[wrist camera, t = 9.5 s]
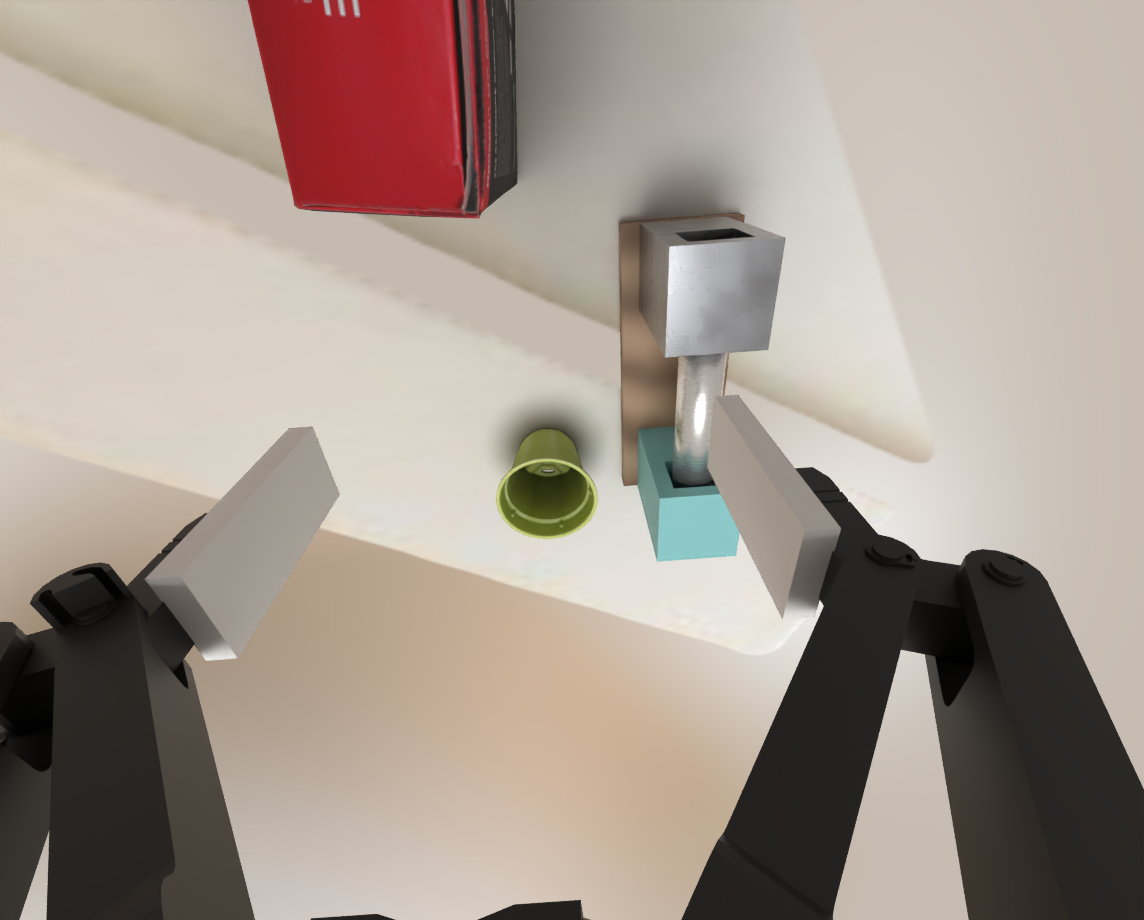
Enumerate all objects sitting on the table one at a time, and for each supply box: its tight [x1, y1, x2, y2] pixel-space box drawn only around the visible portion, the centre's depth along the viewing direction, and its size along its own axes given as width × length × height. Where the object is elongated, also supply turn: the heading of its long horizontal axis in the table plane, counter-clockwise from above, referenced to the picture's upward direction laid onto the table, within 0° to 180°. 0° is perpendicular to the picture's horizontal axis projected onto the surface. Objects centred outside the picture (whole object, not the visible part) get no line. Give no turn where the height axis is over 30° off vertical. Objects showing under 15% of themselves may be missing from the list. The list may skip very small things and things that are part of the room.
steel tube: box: [672, 353, 727, 489], centre depth 40 cm, size 17×4×4 cm, turn 4°
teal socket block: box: [638, 426, 739, 561], centre depth 46 cm, size 7×7×12 cm
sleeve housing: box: [639, 217, 785, 358], centre depth 36 cm, size 7×7×12 cm
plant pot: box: [496, 429, 598, 539], centre depth 49 cm, size 9×9×9 cm
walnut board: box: [619, 213, 745, 486], centre depth 47 cm, size 26×10×2 cm, turn 4°
